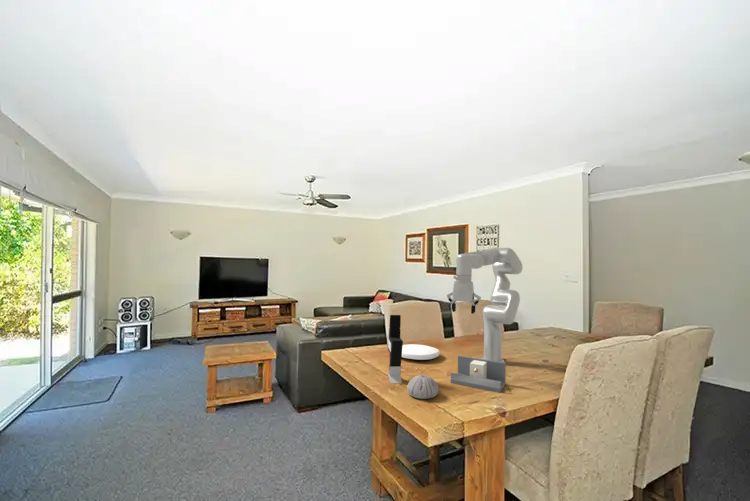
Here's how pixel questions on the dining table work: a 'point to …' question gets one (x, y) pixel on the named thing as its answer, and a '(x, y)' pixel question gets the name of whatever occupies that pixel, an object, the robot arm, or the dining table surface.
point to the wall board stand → (492, 383)
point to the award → (395, 349)
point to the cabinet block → (478, 369)
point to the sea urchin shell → (422, 387)
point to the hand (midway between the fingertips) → (463, 312)
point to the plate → (419, 352)
